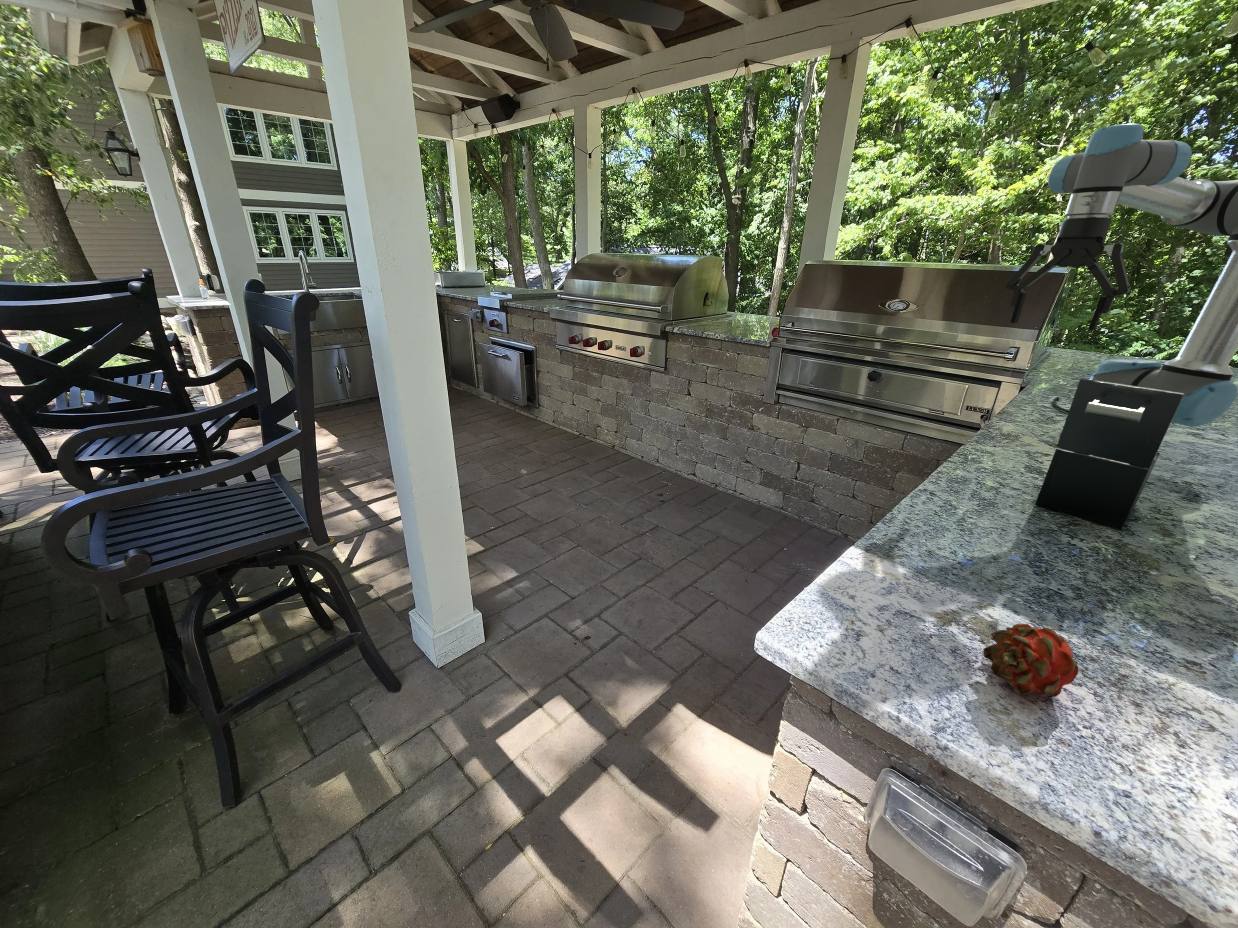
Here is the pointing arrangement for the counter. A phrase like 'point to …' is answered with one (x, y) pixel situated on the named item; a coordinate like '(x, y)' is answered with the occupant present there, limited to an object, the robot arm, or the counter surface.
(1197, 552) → the counter surface
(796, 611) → the counter surface
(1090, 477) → the trash can
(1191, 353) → the robot arm
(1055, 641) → the dragon fruit
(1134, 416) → the trash lid
